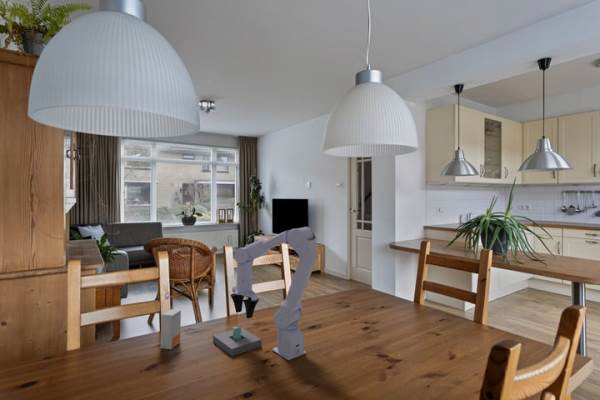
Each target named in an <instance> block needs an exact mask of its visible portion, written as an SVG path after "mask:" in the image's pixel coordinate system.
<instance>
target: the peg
mask: <svg viewBox="0 0 600 400" xmlns="http://www.w3.org/2000/svg"><path fill="white" fill-rule="evenodd" d="M232 330H233V340H234V341H237V340H240V339H241V326H240V325H237V326H233V327H232Z"/></svg>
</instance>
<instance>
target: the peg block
mask: <svg viewBox="0 0 600 400" xmlns="http://www.w3.org/2000/svg"><path fill="white" fill-rule="evenodd" d="M240 327H241V326H240ZM212 343H214V344H215V345H216V346H217V347H219V348H220V349H221V350H223V351H224V352H225V353H227V354H228V355H229V356H230V357H234V356H236V355H240V354H242V353H247V352H248V351H251V350H254V349H255V350H256V349H257V348H260V347H262V338H260V337H258V336H256V335H255V334H253V333H252V332H250V331H248V330H247V329H246V328H243V327H241V339H240V340H237V341H234V340H233V329H231V330H227V331H224V332H221V333H217V334H213V335H212Z"/></svg>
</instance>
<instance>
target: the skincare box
mask: <svg viewBox="0 0 600 400" xmlns="http://www.w3.org/2000/svg"><path fill="white" fill-rule="evenodd" d="M181 320H182V310H181V309H170V310H167V311H165V312H164V313H163V314H161V322H160V324H161V325H160V349H165V350H166V349H167V350H172V349H173V348H174V347H175V346H177V345H179V344H180V343H181V326H182V325H181V324H182V323H181V322H182V321H181Z"/></svg>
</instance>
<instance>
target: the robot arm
mask: <svg viewBox="0 0 600 400" xmlns="http://www.w3.org/2000/svg"><path fill="white" fill-rule="evenodd" d="M316 242H317V236H316V233H315V232H314V230H313V229H312V228H311V227H309V226H303V227H299V228H298V227H297V228H292V229H290V230H289V229H288V230H285V231H283V232H282V231H281V232H280V233H278V234H276V235H273V237H270V238H269V239H267V240H265V239H260V238H257V239H255V240H254V242H252V243H247V244H245V247H238V248H237V249H235V251H234V253H233V257H234V258H233V259H234V261H235V262H236V286H232V287H231V289H232V290H231V291H232V293H231V294H230V298H231V299H232V301H233V305H234V309H235V313H237V314H238V313H242V311H243V305H244V307H245V315H246V319H251V318H253V316H254V312H255V309H256V306H257V304H258V303H259V301H260V300H259V298H258V294H257V293H256V292H255V291H254V290H253V265H254V261H255V259H259V258H260V257H263V256H265V255H267V254H269V251H270V249H273V248H275V247H277V246H279V245H282V244H284V245H289V246H290V247H291V248H292V249H293V250H294V251H295V252H296V254H297V255H298V257H299V261H298V264H297V266H296V269H295V271H294V275H293V278H292V281H291V283H290V285H289V289H288V292H287V294H286V297H285V299H284V300H283V302H282V303H281V305H280V306H279V308H278V310H277V311H276V312H275V313H274V316H273V320H274V324H275V326H276V327H277V328H276V329H277V336H276V337H277V342H276V343H277V345H276V346H275V347H273V348H272V349H271V350H272V351H273V352H275V353H276V354H277V355H279V356H280V357H283V358H284V359H286V360H287V361H290V360H292V359H295V358H298V357H300V356H303V355H305V354H306V353H307V351H305V335H304V333H303V331H302V330H300V327H299V320H300V319H301V318H302V308H303V304H302V303H303V302H302V300H303V297H304V293H305V292H306V288H307V287H308V283H309V280H310V277H311V275H312V273H313V269H314V266H315V264H316V261H317V258H318V252H317V244H316ZM244 298H246V299H244ZM243 303H244V304H243Z"/></svg>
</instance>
